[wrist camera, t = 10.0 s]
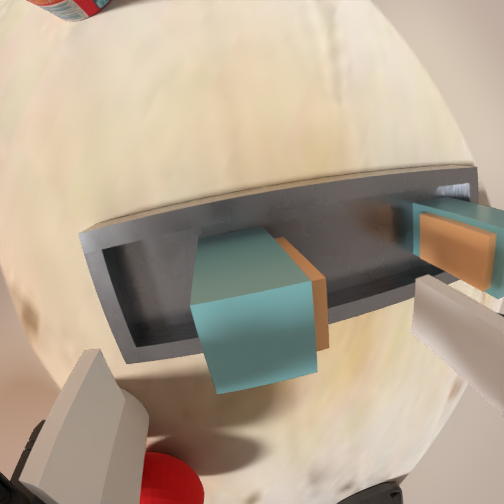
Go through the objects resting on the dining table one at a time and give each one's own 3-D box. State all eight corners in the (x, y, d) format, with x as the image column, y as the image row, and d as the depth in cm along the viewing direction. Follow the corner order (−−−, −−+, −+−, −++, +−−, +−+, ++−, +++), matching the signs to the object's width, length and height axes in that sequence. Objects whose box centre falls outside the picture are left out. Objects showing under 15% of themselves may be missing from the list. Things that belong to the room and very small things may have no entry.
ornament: (128, 425, 23) (113, 510, 13) (214, 448, 25) (222, 530, 15) (116, 464, 24) (105, 532, 15) (188, 483, 27) (191, 550, 17)
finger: (283, 283, 19) (336, 366, 11) (211, 297, 19) (216, 394, 10) (275, 224, 18) (333, 275, 10) (198, 238, 18) (189, 305, 9)
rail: (452, 263, 23) (474, 273, 20) (134, 340, 20) (126, 364, 17) (452, 164, 20) (477, 167, 17) (96, 223, 17) (78, 233, 15)
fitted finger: (404, 204, 19) (500, 232, 11) (447, 196, 20) (535, 219, 11) (405, 255, 20) (490, 303, 12) (447, 244, 21) (527, 280, 12)
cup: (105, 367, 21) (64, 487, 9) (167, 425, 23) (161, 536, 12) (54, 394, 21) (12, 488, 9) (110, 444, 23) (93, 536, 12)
